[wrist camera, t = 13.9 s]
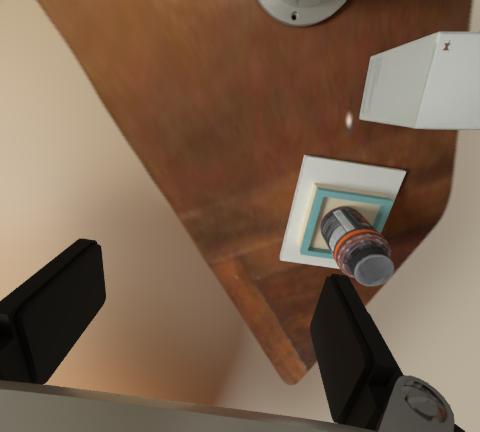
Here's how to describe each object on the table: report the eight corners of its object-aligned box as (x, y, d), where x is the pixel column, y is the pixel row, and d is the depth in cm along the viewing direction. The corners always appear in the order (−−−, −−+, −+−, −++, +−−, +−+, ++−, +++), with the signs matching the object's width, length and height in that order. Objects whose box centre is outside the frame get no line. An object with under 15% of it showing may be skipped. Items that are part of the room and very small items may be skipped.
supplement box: (357, 120, 34) (411, 129, 22) (369, 55, 31) (439, 27, 19) (413, 121, 34) (498, 132, 22) (432, 56, 31) (540, 28, 19)
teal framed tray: (304, 154, 36) (310, 161, 32) (401, 169, 36) (420, 177, 32) (279, 256, 43) (282, 272, 39) (361, 268, 43) (373, 285, 39)
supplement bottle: (370, 220, 36) (418, 267, 26) (340, 249, 38) (373, 303, 28) (339, 196, 35) (376, 236, 25) (310, 228, 37) (332, 276, 27)
